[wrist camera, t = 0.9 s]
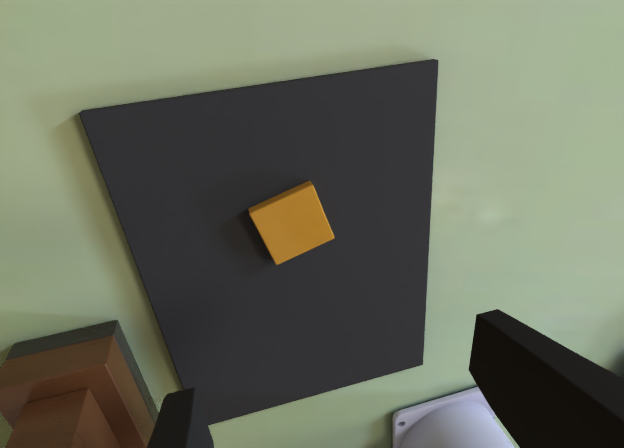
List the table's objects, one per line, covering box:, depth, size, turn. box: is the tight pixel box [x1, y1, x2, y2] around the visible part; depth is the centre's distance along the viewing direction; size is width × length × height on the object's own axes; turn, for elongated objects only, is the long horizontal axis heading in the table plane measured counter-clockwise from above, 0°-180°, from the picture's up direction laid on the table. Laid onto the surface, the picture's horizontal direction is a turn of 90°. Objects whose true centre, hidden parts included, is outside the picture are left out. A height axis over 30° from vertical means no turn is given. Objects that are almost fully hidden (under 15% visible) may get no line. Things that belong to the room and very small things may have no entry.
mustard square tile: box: [248, 181, 334, 265], centre depth 18 cm, size 3×3×1 cm
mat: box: [79, 59, 438, 425], centre depth 20 cm, size 18×14×1 cm
